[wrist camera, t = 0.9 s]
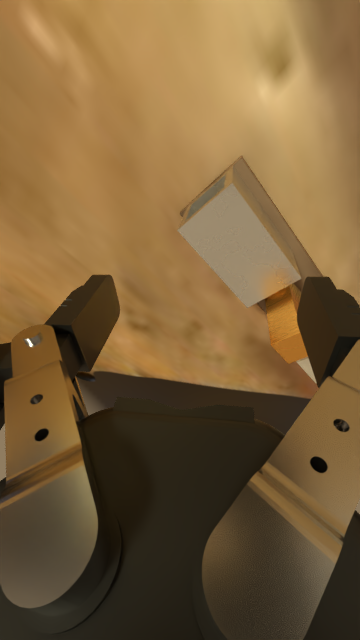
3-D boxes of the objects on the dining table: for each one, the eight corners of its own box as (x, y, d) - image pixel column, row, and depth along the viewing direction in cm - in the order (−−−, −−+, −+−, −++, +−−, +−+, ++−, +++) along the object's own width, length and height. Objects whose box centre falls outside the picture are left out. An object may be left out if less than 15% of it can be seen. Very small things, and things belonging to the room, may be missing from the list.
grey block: (232, 165, 25) (232, 182, 21) (291, 249, 30) (301, 278, 25) (186, 207, 29) (177, 230, 24) (245, 277, 33) (247, 307, 28)
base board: (241, 155, 26) (241, 157, 25) (360, 331, 37) (362, 336, 36) (181, 210, 30) (179, 214, 29) (304, 353, 41) (305, 357, 40)
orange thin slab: (233, 197, 26) (232, 243, 18) (315, 308, 33) (340, 376, 25) (207, 218, 28) (196, 268, 20) (291, 320, 34) (307, 386, 27)
